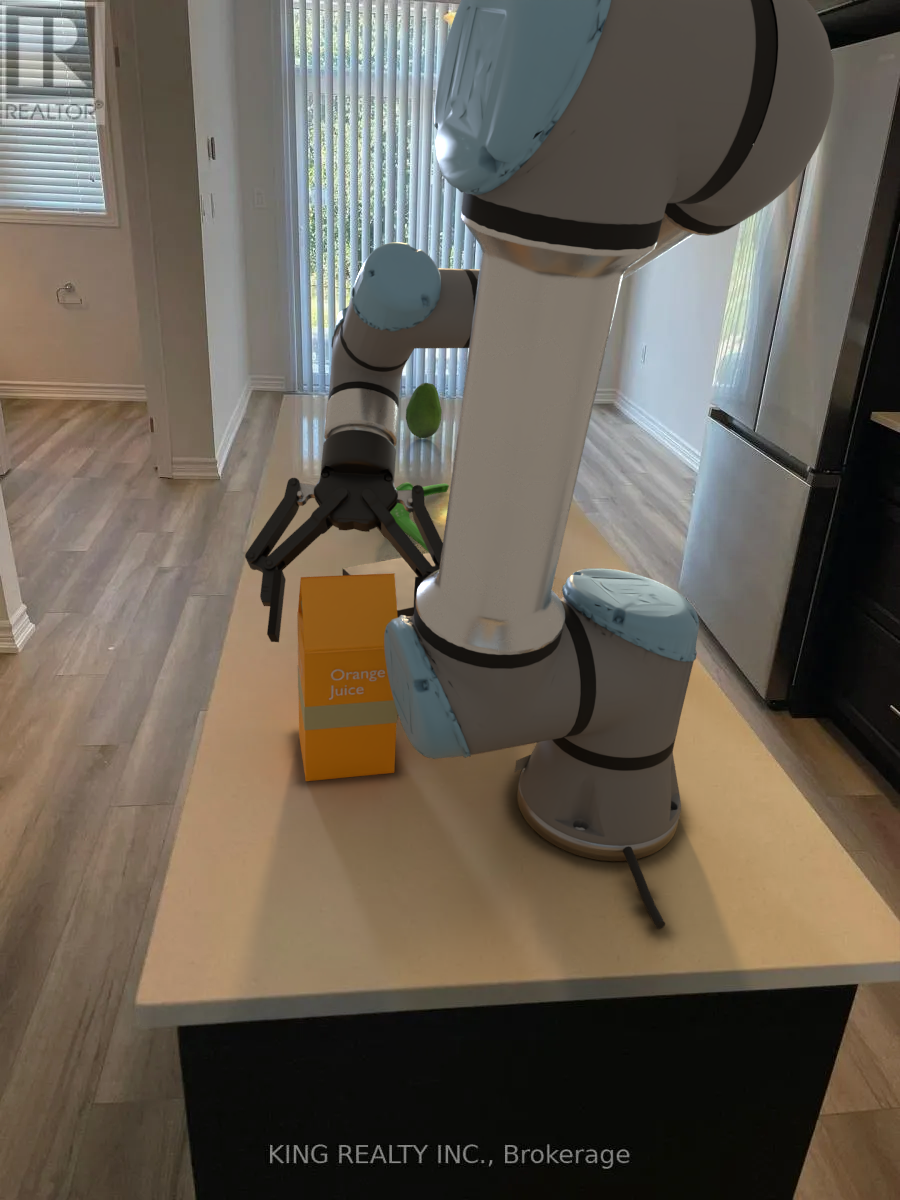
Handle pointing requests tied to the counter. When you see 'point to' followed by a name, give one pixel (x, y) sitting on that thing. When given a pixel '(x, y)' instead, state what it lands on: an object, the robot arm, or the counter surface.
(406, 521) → the lime squeezer
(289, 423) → the counter surface
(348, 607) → the orange juice
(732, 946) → the counter surface
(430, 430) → the avocado
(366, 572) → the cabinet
